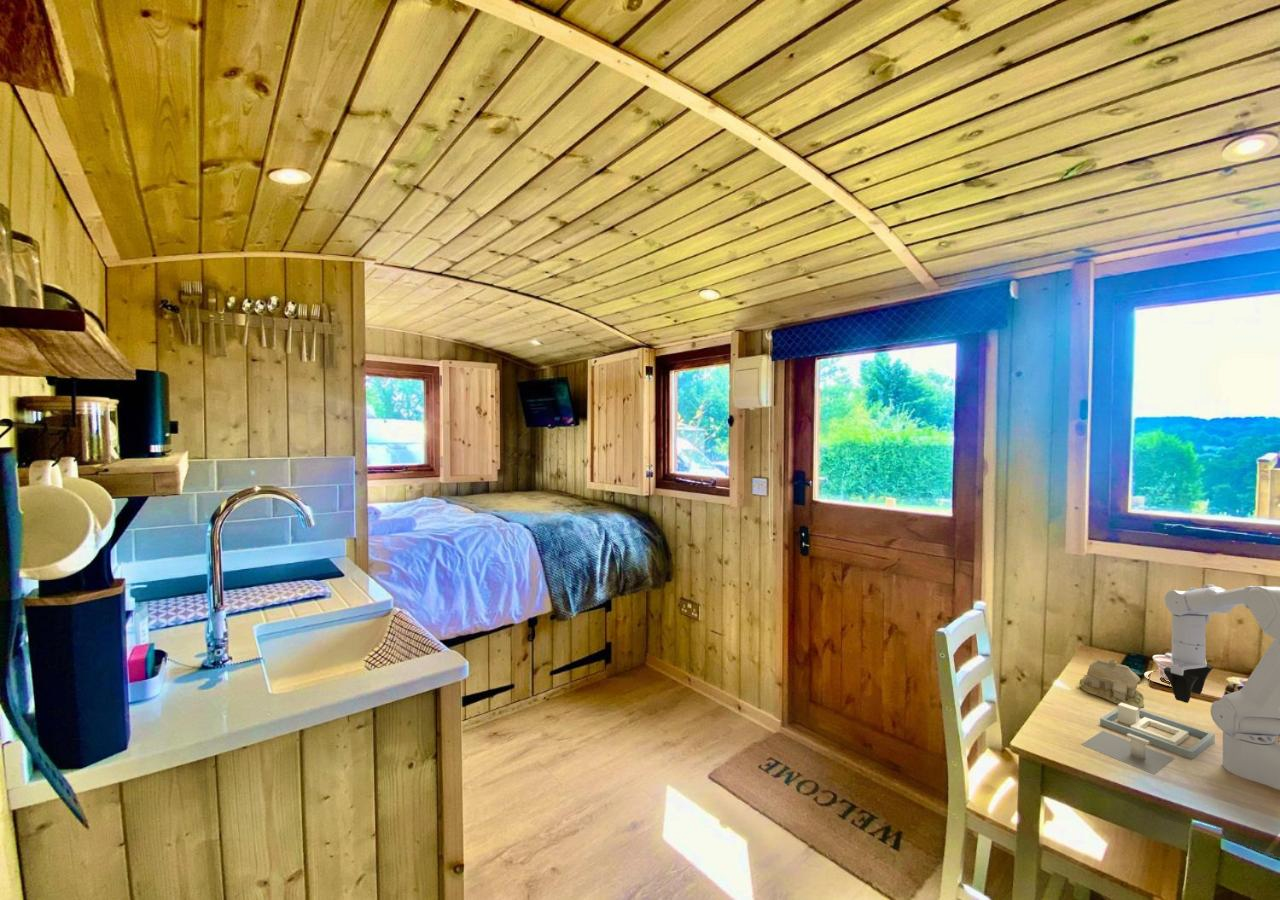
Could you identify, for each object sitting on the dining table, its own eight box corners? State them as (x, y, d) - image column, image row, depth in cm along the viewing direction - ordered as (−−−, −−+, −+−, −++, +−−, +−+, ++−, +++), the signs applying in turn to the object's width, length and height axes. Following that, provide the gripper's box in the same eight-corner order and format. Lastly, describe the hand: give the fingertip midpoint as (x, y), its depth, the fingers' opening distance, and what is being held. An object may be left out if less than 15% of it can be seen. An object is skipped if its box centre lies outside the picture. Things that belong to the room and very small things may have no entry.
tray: (1214, 744, 126) (1214, 734, 126) (1192, 763, 119) (1192, 752, 119) (1124, 713, 141) (1124, 703, 140) (1100, 728, 134) (1100, 718, 134)
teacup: (1133, 671, 164) (1133, 651, 163) (1178, 673, 162) (1178, 653, 162) (1165, 690, 152) (1165, 669, 152) (1214, 692, 150) (1214, 670, 150)
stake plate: (1174, 762, 120) (1174, 740, 120) (1154, 779, 115) (1154, 755, 115) (1102, 734, 131) (1102, 714, 131) (1080, 748, 126) (1080, 727, 126)
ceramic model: (1151, 699, 148) (1151, 663, 147) (1140, 712, 141) (1140, 674, 141) (1087, 680, 159) (1086, 647, 159) (1073, 692, 153) (1073, 657, 152)
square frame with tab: (1188, 738, 128) (1188, 719, 128) (1174, 748, 124) (1175, 729, 124) (1126, 716, 138) (1126, 699, 138) (1112, 725, 134) (1112, 707, 134)
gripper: (1177, 629, 136) (1177, 682, 137) (1153, 642, 129) (1153, 697, 130) (1217, 638, 130) (1217, 694, 131) (1194, 652, 123) (1194, 710, 124)
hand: (1188, 696), depth 130 cm, fingers open, 7 cm apart
